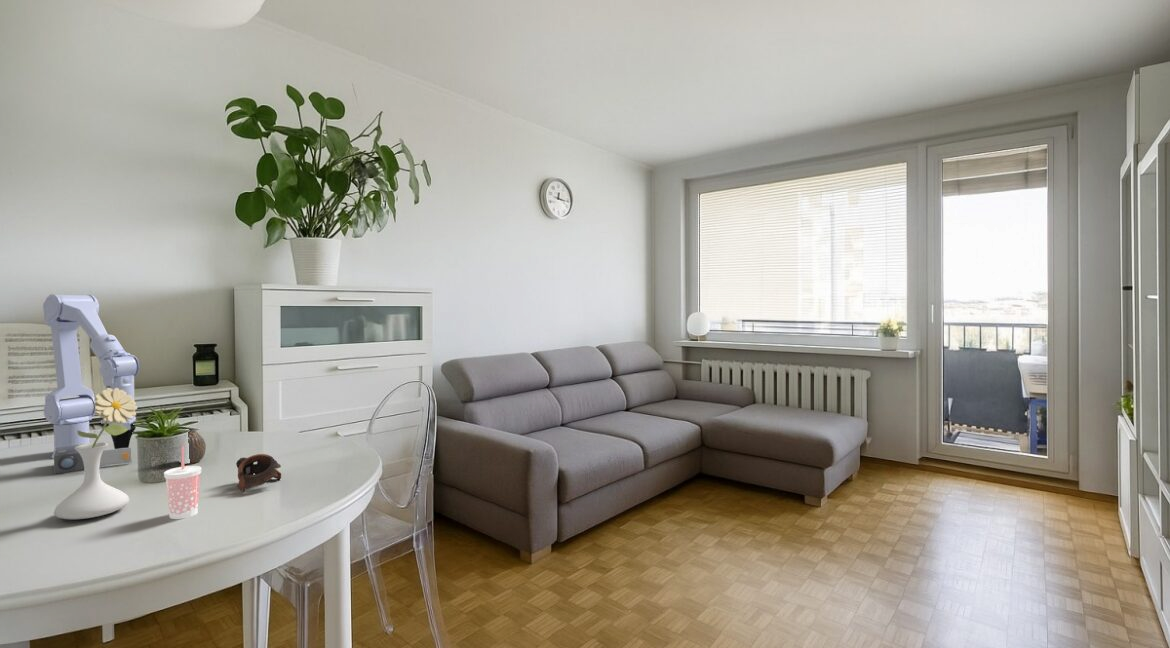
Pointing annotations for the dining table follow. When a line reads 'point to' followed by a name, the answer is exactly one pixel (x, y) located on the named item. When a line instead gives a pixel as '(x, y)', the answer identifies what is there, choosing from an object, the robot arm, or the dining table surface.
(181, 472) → the beverage cup
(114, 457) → the side door
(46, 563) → the dining table surface
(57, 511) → the flower in vase
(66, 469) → the camera body
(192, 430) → the brown ribbed ovoid
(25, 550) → the dining table surface
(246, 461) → the brown curved piece
